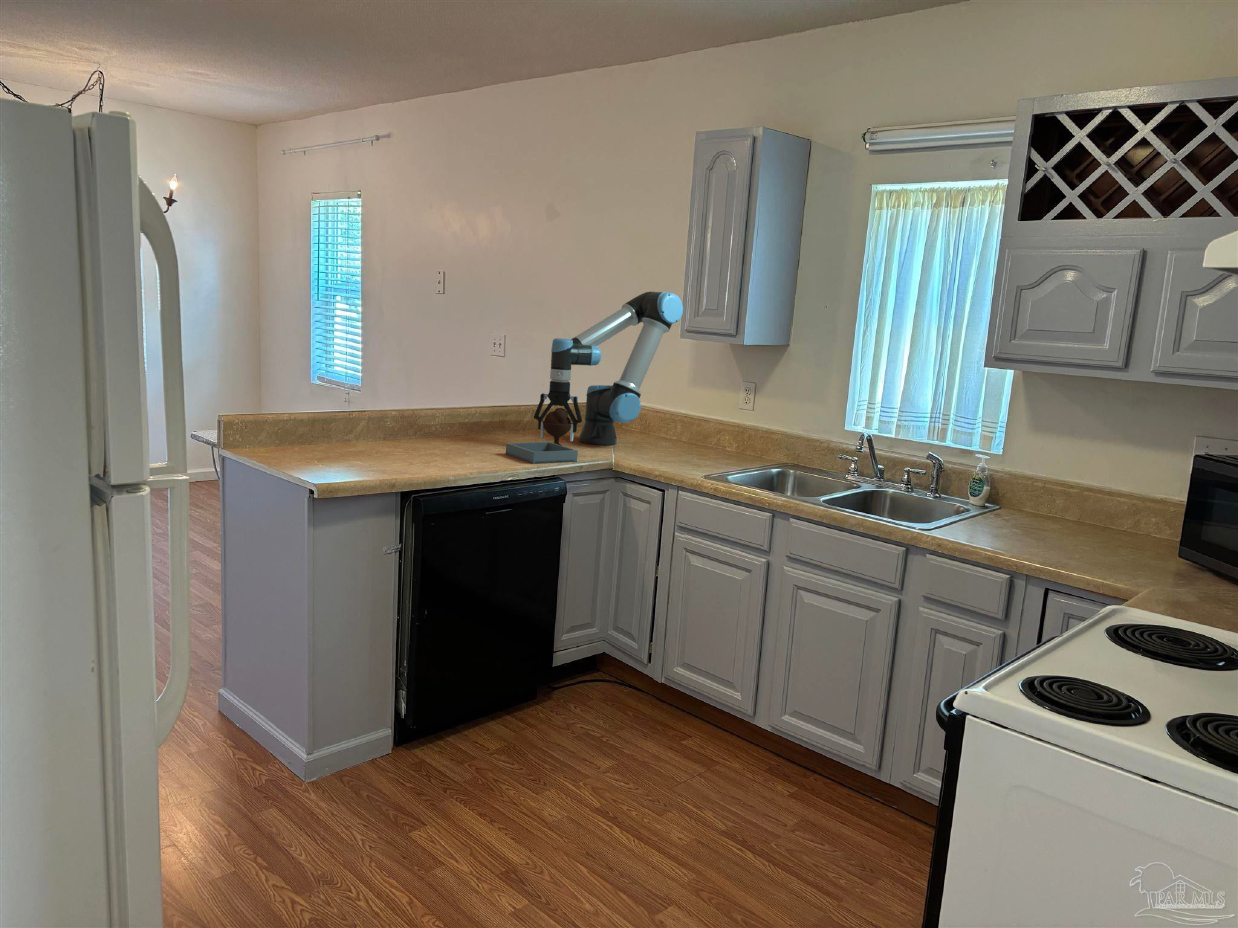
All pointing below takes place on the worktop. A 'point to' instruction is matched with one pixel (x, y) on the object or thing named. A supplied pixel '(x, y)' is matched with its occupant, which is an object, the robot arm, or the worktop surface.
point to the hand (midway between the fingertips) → (556, 439)
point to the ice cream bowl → (557, 424)
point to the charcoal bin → (541, 452)
